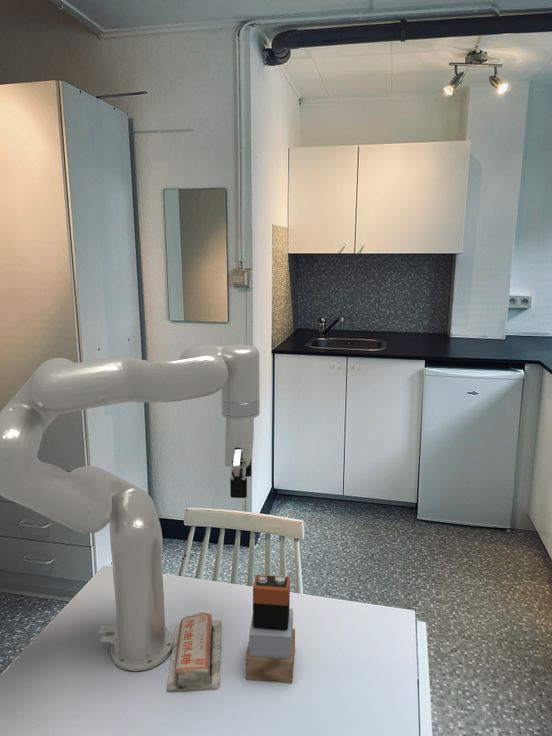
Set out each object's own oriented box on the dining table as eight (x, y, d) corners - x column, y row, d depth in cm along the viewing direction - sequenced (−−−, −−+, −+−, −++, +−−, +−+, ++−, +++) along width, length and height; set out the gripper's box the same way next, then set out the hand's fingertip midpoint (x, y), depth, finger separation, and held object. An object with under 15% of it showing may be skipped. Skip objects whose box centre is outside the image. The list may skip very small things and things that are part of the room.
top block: (249, 656, 103) (249, 634, 102) (253, 627, 110) (253, 606, 109) (290, 659, 102) (291, 637, 101) (292, 629, 110) (293, 608, 109)
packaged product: (219, 670, 100) (165, 673, 99) (220, 691, 101) (166, 695, 100) (221, 606, 118) (175, 608, 117) (221, 625, 119) (176, 627, 118)
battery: (287, 631, 102) (288, 585, 100) (252, 628, 103) (252, 583, 101) (289, 616, 107) (290, 571, 104) (255, 613, 107) (255, 569, 105)
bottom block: (245, 680, 104) (245, 658, 102) (251, 646, 112) (251, 625, 111) (292, 683, 103) (292, 661, 102) (294, 649, 111) (295, 628, 110)
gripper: (227, 394, 115) (228, 468, 119) (215, 420, 98) (216, 505, 102) (262, 395, 115) (262, 469, 119) (255, 421, 98) (256, 507, 102)
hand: (241, 486), depth 110 cm, fingers open, 9 cm apart
